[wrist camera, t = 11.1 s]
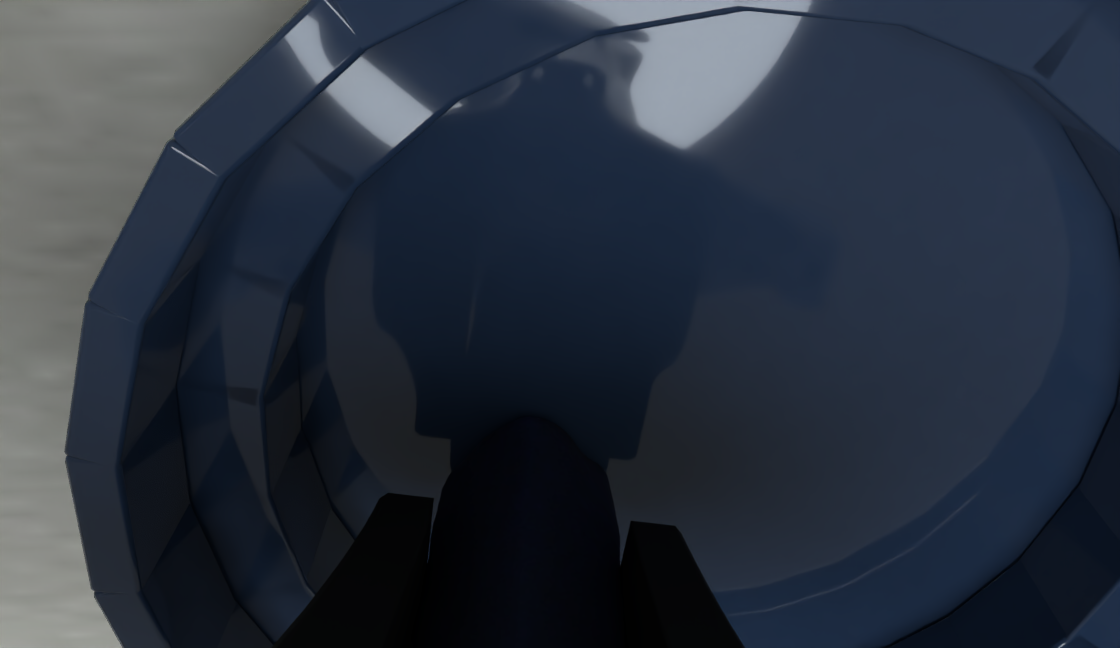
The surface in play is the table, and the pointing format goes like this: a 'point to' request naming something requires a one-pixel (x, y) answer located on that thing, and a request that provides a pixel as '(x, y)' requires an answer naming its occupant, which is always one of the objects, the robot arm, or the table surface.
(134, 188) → the table surface
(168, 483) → the bowl
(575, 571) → the eraser
